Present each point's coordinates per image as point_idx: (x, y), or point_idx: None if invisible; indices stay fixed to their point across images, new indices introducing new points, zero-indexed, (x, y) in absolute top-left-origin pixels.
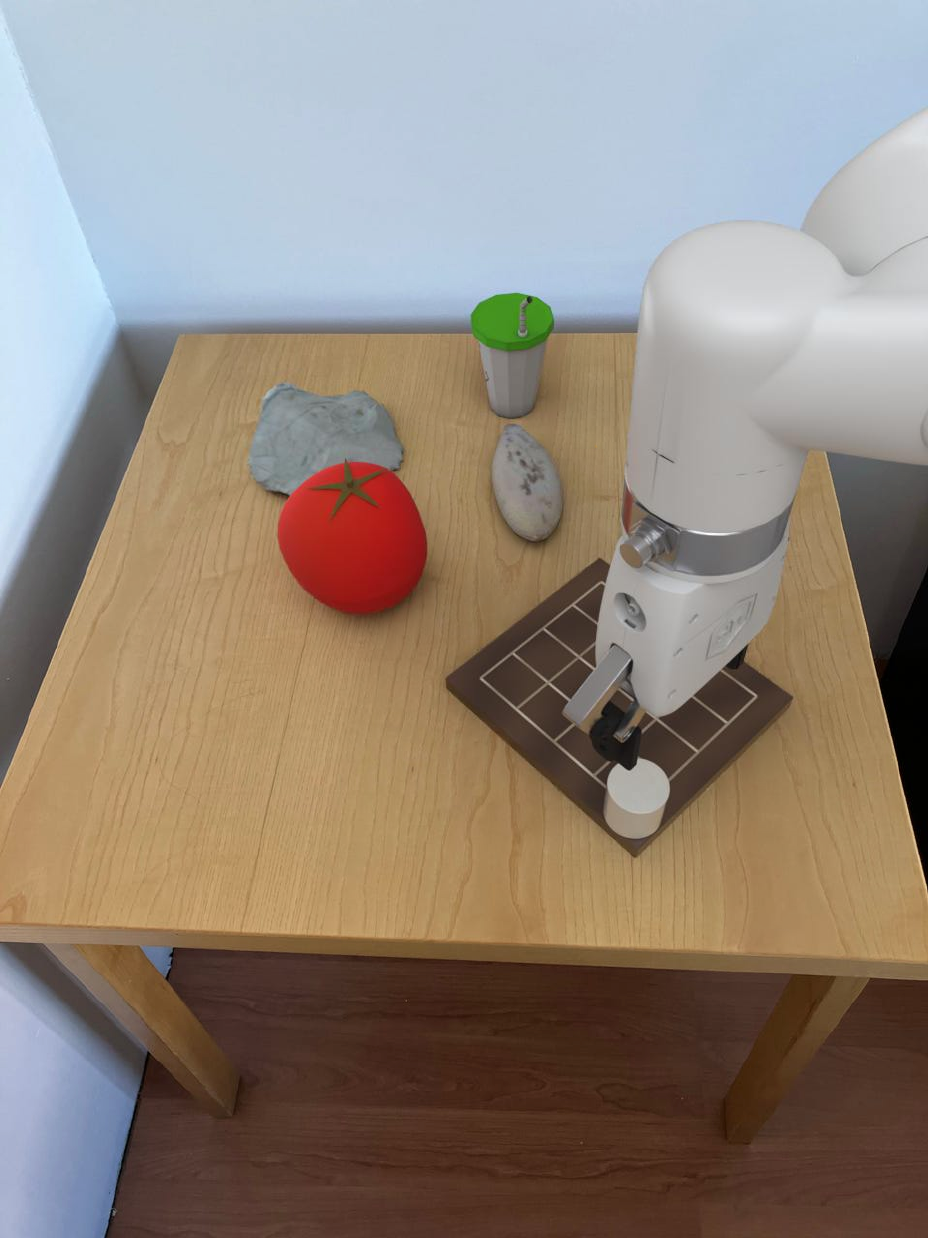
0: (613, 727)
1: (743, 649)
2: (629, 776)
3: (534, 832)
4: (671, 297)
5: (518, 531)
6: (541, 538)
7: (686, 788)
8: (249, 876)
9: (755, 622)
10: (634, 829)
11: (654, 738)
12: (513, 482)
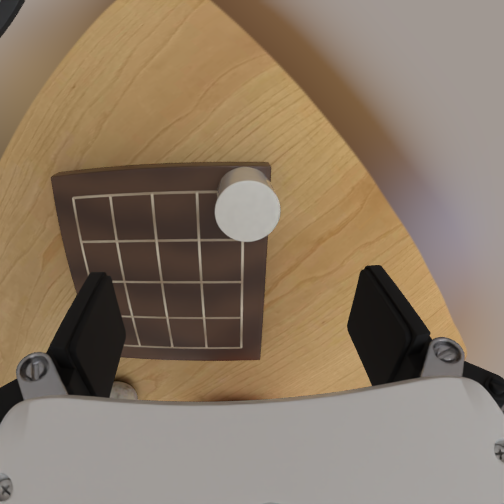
0: (464, 376)
1: (82, 307)
2: (246, 225)
3: (307, 235)
4: None
5: (136, 396)
6: (126, 386)
7: (188, 175)
8: (425, 322)
9: (79, 491)
10: (269, 182)
11: (172, 228)
12: None
